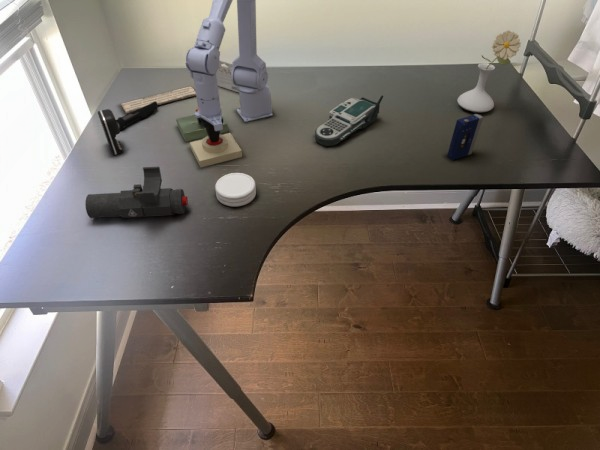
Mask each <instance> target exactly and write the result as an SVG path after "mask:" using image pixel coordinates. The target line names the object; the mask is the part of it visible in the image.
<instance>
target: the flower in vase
mask: <svg viewBox="0 0 600 450" xmlns="http://www.w3.org/2000/svg"><path fill="white" fill-rule="evenodd" d="M520 41H521V40H520V38H519V34H518V33H516V32H514V31H511V30H509V29H508V30H506V31H503V32H502V33H501V32H500V33H498V34H497V35H496V36H495V40H493V43H492V45H491V48H492V52H493V55H494V56H495V58H494V59H493V60H492V61H491V60H490V59H489V58H487V57H485V56H484V55H481V58H482V59H484V60H486V61H488V62H489V63H487V62H479V64H478V65H477V68H478V70H479V74H478V80H477V83H476V86H475V87H474V88H472V89H470V90H467V91H465V92H463V93H461V94H460V95H459V96H458V97H457V101H456V102H457V104H458V106H459V107H460V108H461V109H463V110H466V111H468V112H471V113H487V112H489V111H491V110H493V108H494V107H495V102H494V100H493V98H492V97H491V95H489V93H487V91H486V90H485V86H486V82H487V80H488V78H489V75H490V74H491V73H492V72H493V71H494V70H495V69H496V66H495V65H493V63H494V62H495V61H496V60H497V62H498V64H499V65H502V66H503V65H508V64H509V65H510V64H511V63H512V62H511V60H510V59H511V58H512V57H514V56H516V55H517V53H518V52H519V51H520V48H521V43H522V42H520Z"/></svg>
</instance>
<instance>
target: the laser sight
mask: <svg viewBox="0 0 600 450" xmlns="http://www.w3.org/2000/svg"><path fill="white" fill-rule="evenodd" d="M142 171H143V185H142V184H141V183H140V184H139V183H138V184H133V188H132V189H129V190H126V189H125V190H120V192H110V193H109V192H108V193H90V194H87V195H86V197H85V203H84V205H85V211H86V214H87V216H88V218H90V219H95V218H113V217H115V218H116V217H122V218H125V219H127V218H145V217H162V216H163V217H165V216H175V214H185V212H186V206H187V207H188V205H189V199H188V195H187V196H186V195H185V191H184V189H183V188H177V189H176V188H175V189H173V188H171V187H167V188H161V187H162V183H163V179H162V174H161V169H160V166H143V167H142Z"/></svg>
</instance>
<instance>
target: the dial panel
mask: <svg viewBox="0 0 600 450" xmlns="http://www.w3.org/2000/svg"><path fill="white" fill-rule="evenodd" d="M222 118H223V124H222V126H223V130H220V135H223V134H227V133H229V129H228V123H227V122H226V120H225V118H224V117H223V116H222ZM175 120H176V125H177V128H178V130H179V132H180V134H181V136H182V138H183V140H184V142H185V143H188V142H194V141H198V140H202V139H203V138H205V137H206V136H208V134H207V131H206V129H205V127H204V125H203V124H202V122H201V123H199V122H198V120H197V117H196V116H195V114H193V115H187V116H183V117H178V118H176V119H175Z"/></svg>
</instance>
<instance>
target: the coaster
mask: <svg viewBox="0 0 600 450" xmlns="http://www.w3.org/2000/svg"><path fill="white" fill-rule="evenodd" d="M256 188H257V187H256V181H255V179H254V178H253V177H252V175H248V174H246V173H242V172H230V173H228V174H227V173H226V174H225V175H223V176H221V177H220V178H219V179H217V181H216V182H215V185H214V190H215V196H216V199H217V201H218V202H219V203H220V204H222V205H224V206H227V207H232V208H233V207H236V208H237V207H242V206H245V205H247V204H250V203H251V202H252V201H253V200H254V199H255V198H256V194H257V189H256Z"/></svg>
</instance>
